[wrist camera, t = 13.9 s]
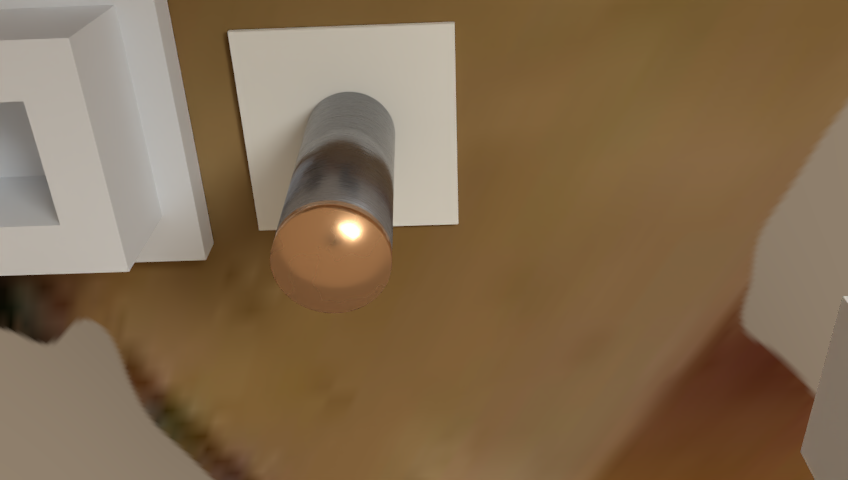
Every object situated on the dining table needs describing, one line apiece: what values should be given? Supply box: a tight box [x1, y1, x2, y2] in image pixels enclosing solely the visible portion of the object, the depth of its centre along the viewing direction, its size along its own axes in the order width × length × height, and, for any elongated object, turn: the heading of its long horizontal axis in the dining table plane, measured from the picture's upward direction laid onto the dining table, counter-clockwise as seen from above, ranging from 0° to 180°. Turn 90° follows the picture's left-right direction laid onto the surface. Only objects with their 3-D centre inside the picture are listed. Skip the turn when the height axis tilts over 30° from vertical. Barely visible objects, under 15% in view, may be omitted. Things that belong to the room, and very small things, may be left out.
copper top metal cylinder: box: [270, 92, 395, 313], centre depth 39 cm, size 5×5×14 cm
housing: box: [0, 0, 214, 276], centre depth 42 cm, size 18×16×8 cm
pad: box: [228, 22, 458, 231], centre depth 46 cm, size 12×12×1 cm
